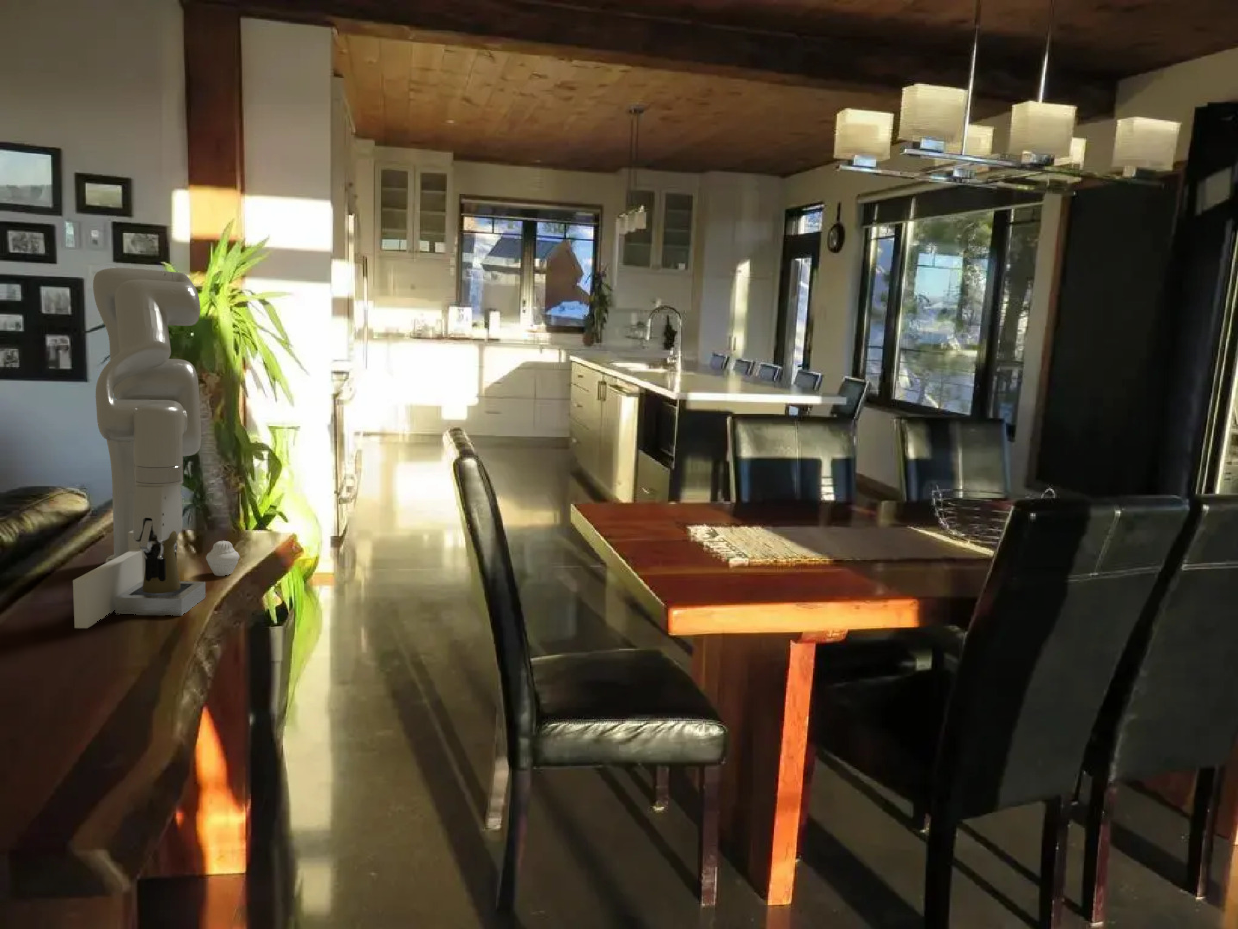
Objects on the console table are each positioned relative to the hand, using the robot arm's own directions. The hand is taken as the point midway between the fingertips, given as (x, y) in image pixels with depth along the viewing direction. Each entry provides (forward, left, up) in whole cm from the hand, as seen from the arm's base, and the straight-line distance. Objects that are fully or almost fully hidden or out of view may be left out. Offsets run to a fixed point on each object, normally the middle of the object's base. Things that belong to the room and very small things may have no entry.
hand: (161, 576), depth 160 cm
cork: (0, 0, -2) cm, 2 cm away
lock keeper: (0, 0, -5) cm, 5 cm away
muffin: (-22, +3, -6) cm, 23 cm away
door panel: (0, -8, -5) cm, 9 cm away
